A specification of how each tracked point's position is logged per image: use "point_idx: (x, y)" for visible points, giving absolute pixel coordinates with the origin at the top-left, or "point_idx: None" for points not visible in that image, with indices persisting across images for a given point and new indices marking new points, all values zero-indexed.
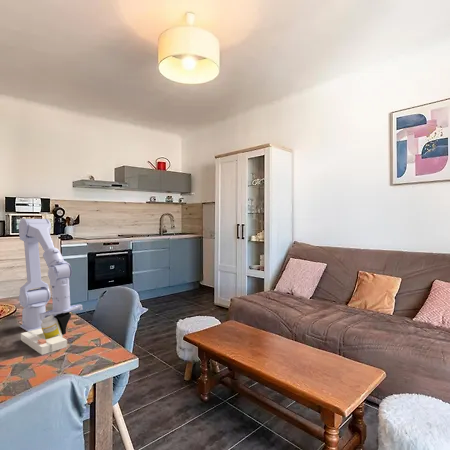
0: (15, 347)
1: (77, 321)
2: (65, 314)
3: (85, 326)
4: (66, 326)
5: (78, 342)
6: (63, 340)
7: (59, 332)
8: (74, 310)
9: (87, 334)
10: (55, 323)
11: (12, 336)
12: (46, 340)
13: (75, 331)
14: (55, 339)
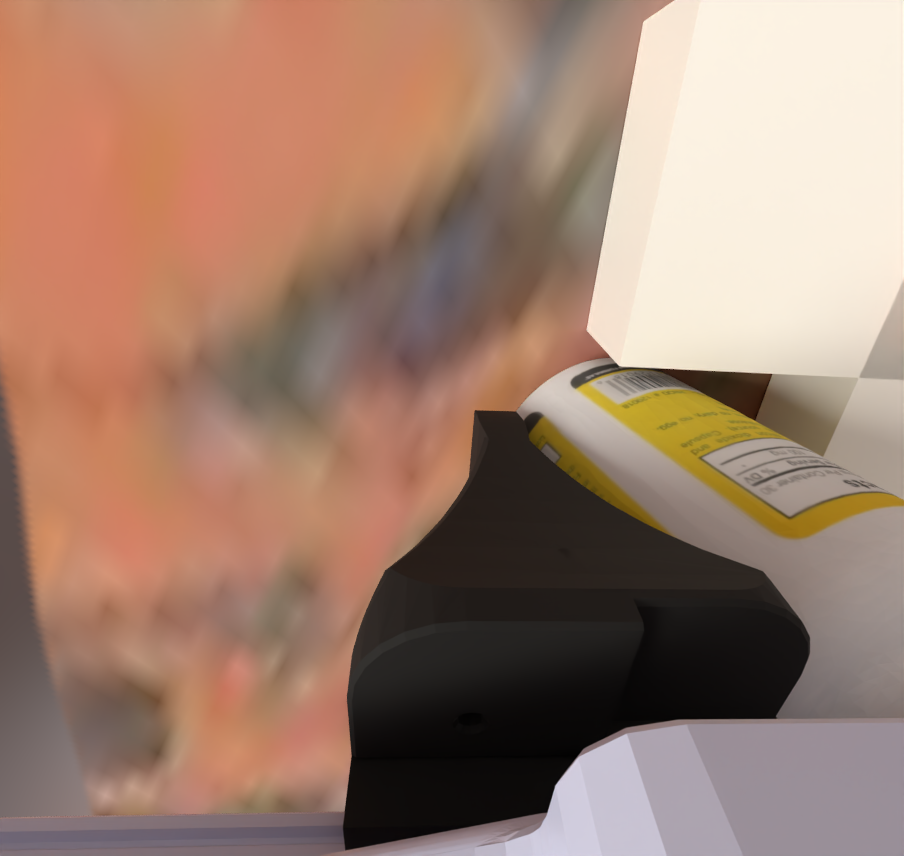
0: None
1: (126, 755)
2: (506, 750)
3: (89, 588)
4: (481, 459)
5: (411, 64)
6: (764, 17)
7: (607, 419)
8: (113, 849)
9: (155, 300)
10: (812, 533)
11: None
12: (874, 319)
13: (253, 531)
14: (784, 232)
